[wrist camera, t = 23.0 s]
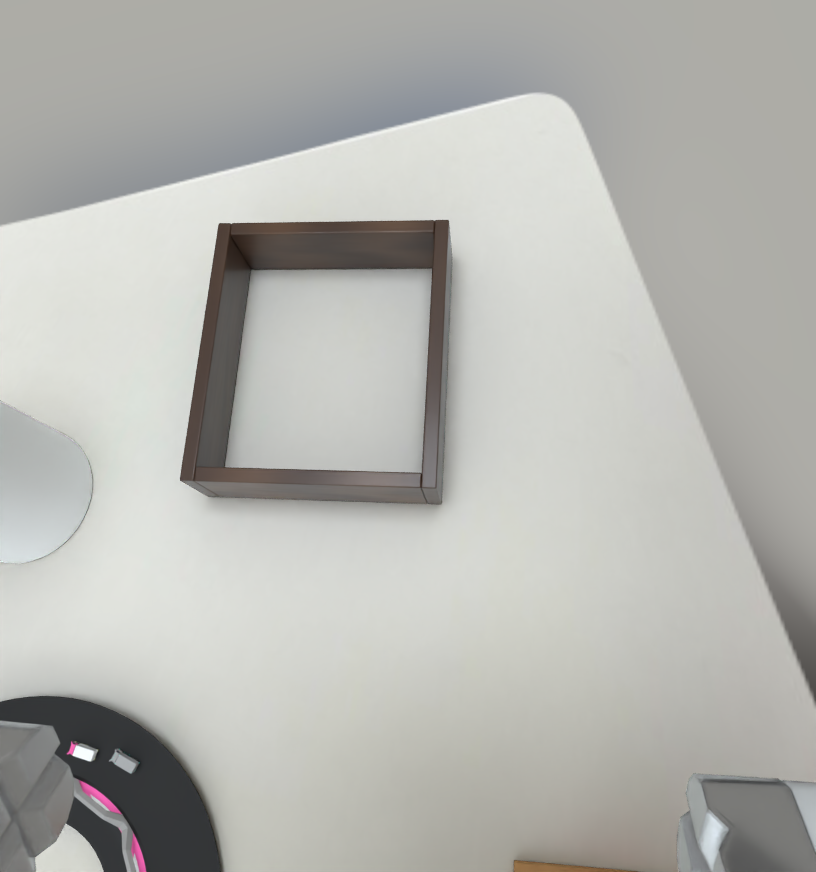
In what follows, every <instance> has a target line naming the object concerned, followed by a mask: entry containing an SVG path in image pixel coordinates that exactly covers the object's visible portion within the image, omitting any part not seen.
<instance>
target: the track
mask: <svg viewBox="0 0 816 872" xmlns="http://www.w3.org/2000/svg"><path fill="white" fill-rule="evenodd" d="M0 721H8V722H18V723H28V724H38V725H48V726H53V728H54V730H55V732H56V734H57V736H58V739H59V741H60V745H59V746H58V748H57V750H56V751H55V753H54V754H56V755H57V756H58V757H59V758H60V759H62V760H63V761H64V762H65V763H66V764H68V765H69V766H70V769H71V772H72V775H73V778H74V799H73V802H72V806H71V810H70V813H69V817H68V820H67V822H66V824H68V825H70V826H71V827H73V828H74V829H76V830H77V831H78V832H79V833H80V834H81V835H82V836H83V837H85V838H86V840H87V841H88V842H89V843H90V844H91V846H92V847H93V849H94V850H95V852H96V854H97V856H98V858H99V860H100V862H101V865H102V867H103V870H104V872H221V871H220V864H219V858H218V853H217V848H216V843H215V839H214V835H213V832H212V828H211V824H210V822H209V819H208V816H207V813H206V810H205V808H204V805H203V803H202V801H201V799H200V796H199V794H198V792H197V791H196V789H195V787H194V785H193V784H192V782H191V780H190V779H189V777H188V776H187V774H186V773H185V771H184V770H183V768H182V767H181V766H180V764H179V763H178V762H177V761H176V759H175V758H174V757H173V755H172V754H171V753H170V752H169V751H168V750H167V749H166V748H165V747H164V746H163V745H162V744H161V743H160V742H159V741H158V740H157V739H156V738H155V737H154V736H152V735H151V734H150V733H149V732H147V731H146V730H145V729H143V728H142V727H141V726H139V725H138V724H136V723H135V722H133V721H132V720H130V719H128V718H127V717H125V716H123V715H121V714H119V713H117V712H115V711H113V710H110V709H108V708H105V707H103V706H100V705H97V704H94V703H91V702H87V701H83V700H78V699H73V698H66V697H54V696H36V697H25V698H17V699H11V700H7V701H2V702H0Z"/></svg>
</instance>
